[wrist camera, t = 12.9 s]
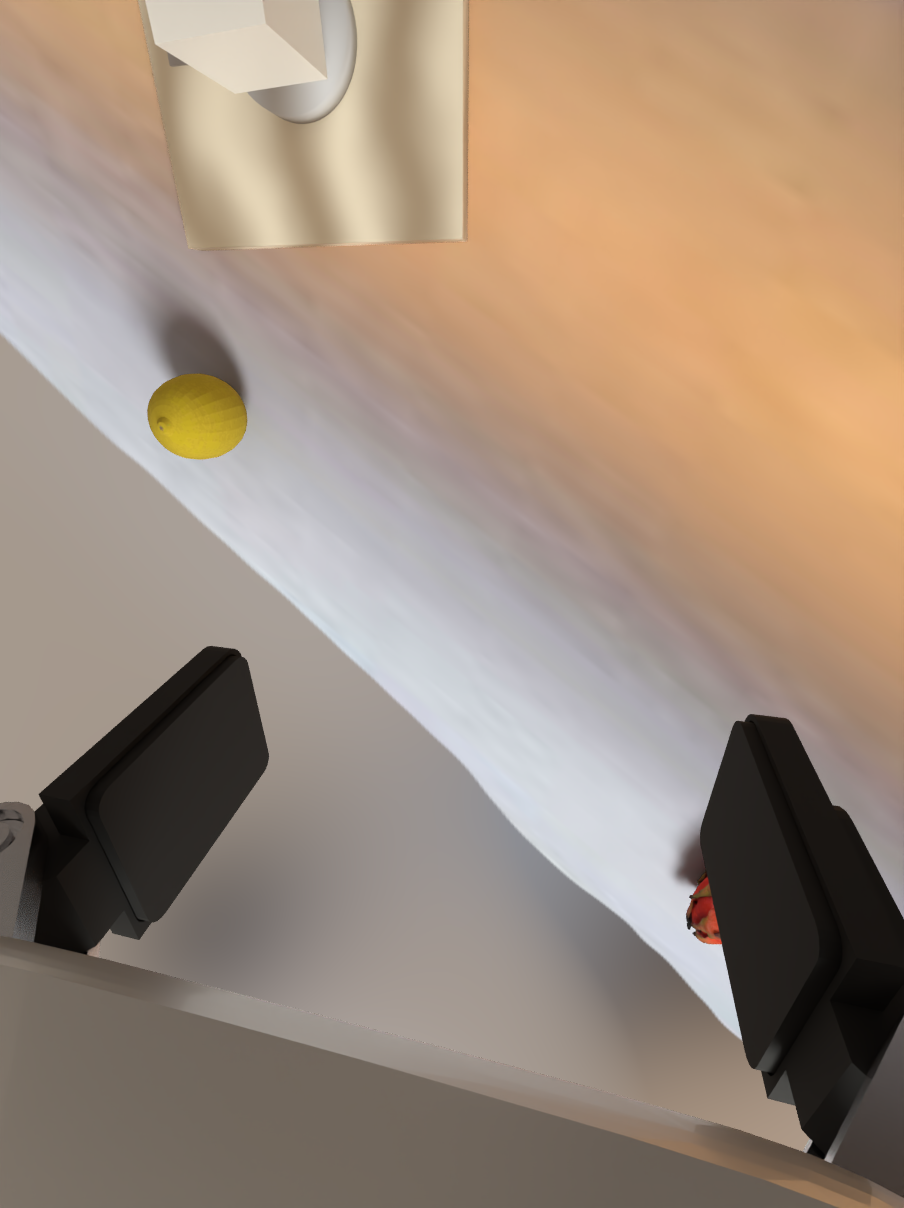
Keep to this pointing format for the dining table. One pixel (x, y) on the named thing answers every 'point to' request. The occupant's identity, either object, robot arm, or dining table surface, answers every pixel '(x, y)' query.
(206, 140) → the base
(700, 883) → the dragon fruit
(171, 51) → the white box
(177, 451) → the lemon
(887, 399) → the dining table surface
